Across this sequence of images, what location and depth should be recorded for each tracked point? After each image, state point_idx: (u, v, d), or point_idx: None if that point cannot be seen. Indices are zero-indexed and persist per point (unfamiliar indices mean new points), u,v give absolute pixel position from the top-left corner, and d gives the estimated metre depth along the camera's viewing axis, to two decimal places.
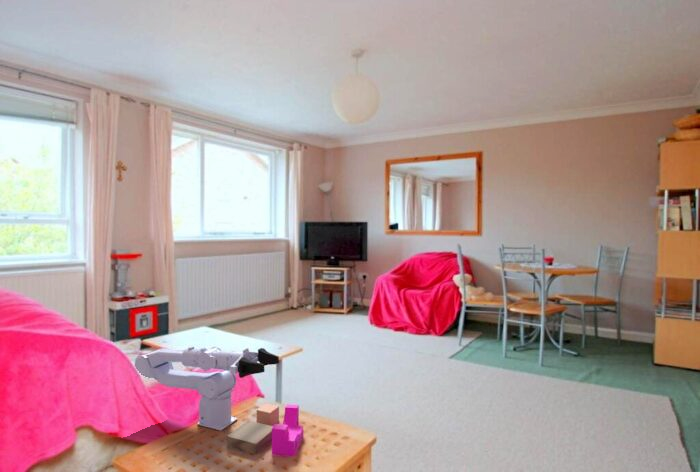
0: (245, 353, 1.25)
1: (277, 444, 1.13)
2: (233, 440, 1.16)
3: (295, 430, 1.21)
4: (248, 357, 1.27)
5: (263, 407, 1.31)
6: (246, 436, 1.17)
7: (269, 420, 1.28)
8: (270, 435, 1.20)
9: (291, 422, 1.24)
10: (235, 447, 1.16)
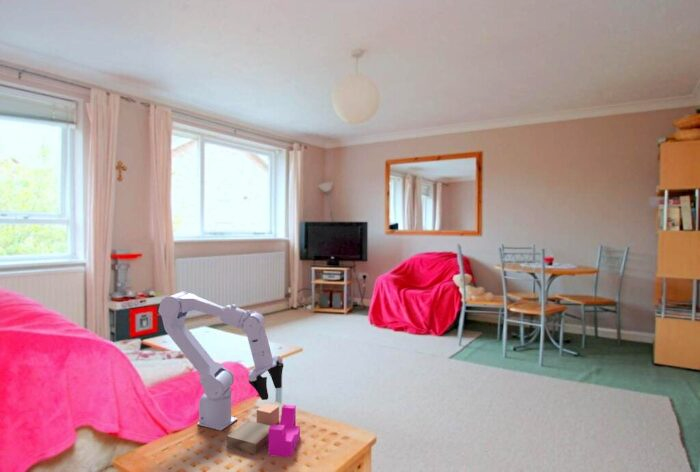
0: (271, 367, 1.27)
1: (274, 444, 1.13)
2: (233, 440, 1.16)
3: (292, 430, 1.21)
4: None
5: (263, 407, 1.31)
6: (246, 436, 1.17)
7: (269, 420, 1.28)
8: None
9: (288, 423, 1.24)
10: (235, 447, 1.16)
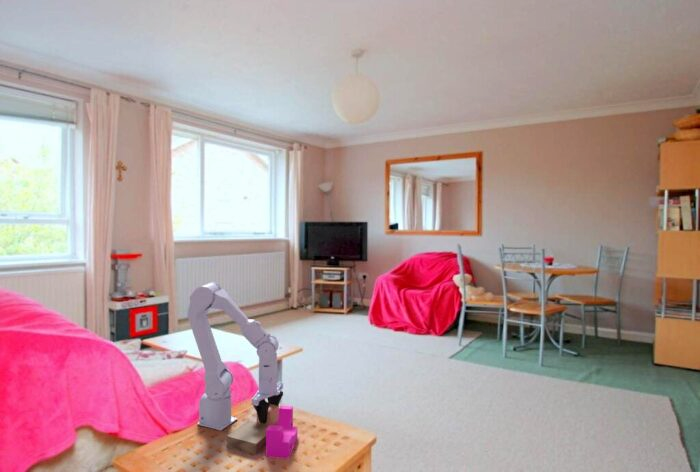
0: None
1: (271, 446, 1.12)
2: (233, 440, 1.16)
3: (289, 431, 1.21)
4: None
5: None
6: (246, 436, 1.17)
7: (269, 419, 1.28)
8: None
9: (285, 424, 1.23)
10: (235, 447, 1.16)
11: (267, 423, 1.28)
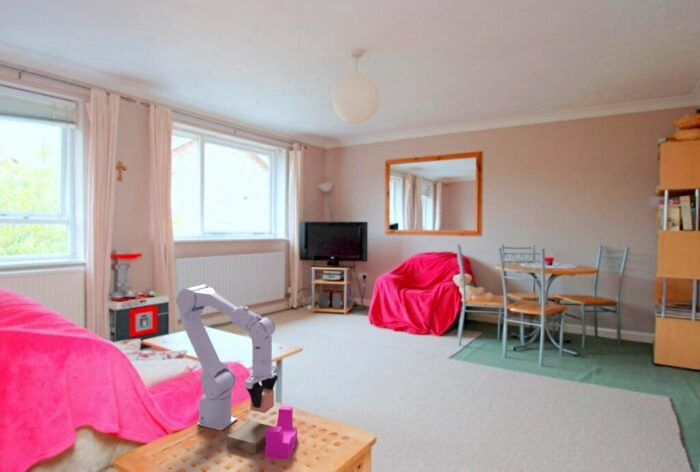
0: None
1: (271, 446, 1.12)
2: (233, 440, 1.16)
3: (289, 432, 1.20)
4: None
5: None
6: (246, 436, 1.17)
7: (264, 404, 1.23)
8: None
9: (285, 424, 1.23)
10: (235, 447, 1.16)
11: (261, 407, 1.23)
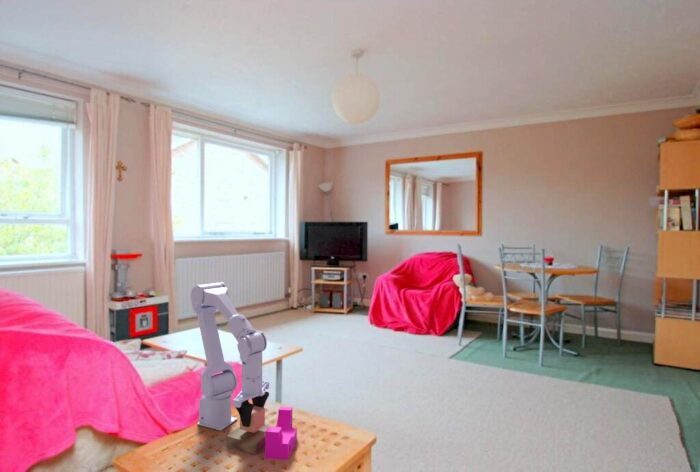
0: None
1: (271, 447, 1.12)
2: (233, 440, 1.16)
3: (288, 433, 1.20)
4: None
5: None
6: (246, 436, 1.17)
7: (254, 423, 1.16)
8: None
9: (285, 425, 1.22)
10: (235, 447, 1.16)
11: (251, 427, 1.17)
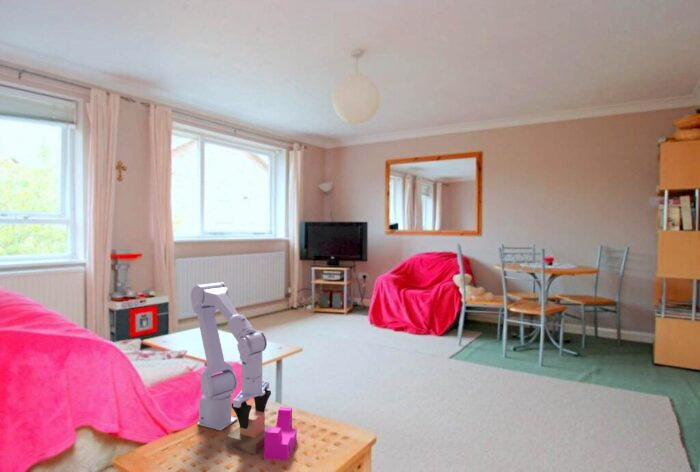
0: None
1: (270, 448, 1.11)
2: (233, 440, 1.16)
3: (288, 433, 1.19)
4: None
5: None
6: (246, 436, 1.17)
7: (253, 428, 1.17)
8: None
9: (285, 425, 1.22)
10: (235, 447, 1.16)
11: (251, 432, 1.17)
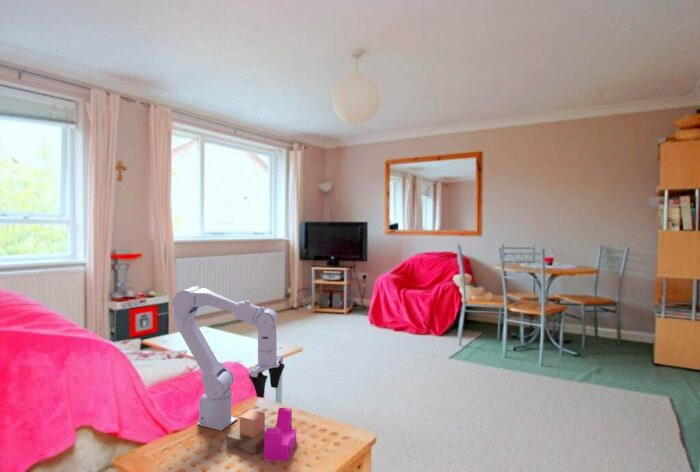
0: None
1: (270, 448, 1.11)
2: (233, 440, 1.16)
3: (288, 434, 1.19)
4: None
5: (247, 413, 1.20)
6: (246, 436, 1.17)
7: (253, 428, 1.17)
8: None
9: (284, 426, 1.22)
10: (235, 447, 1.16)
11: (251, 432, 1.17)
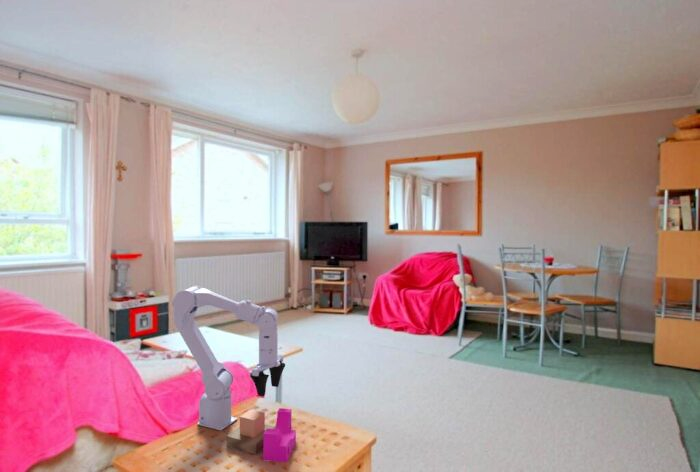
0: None
1: (269, 449, 1.11)
2: (233, 440, 1.16)
3: (287, 435, 1.19)
4: None
5: (247, 413, 1.20)
6: (246, 436, 1.17)
7: (253, 428, 1.17)
8: None
9: (284, 427, 1.21)
10: (235, 447, 1.16)
11: (251, 432, 1.17)
